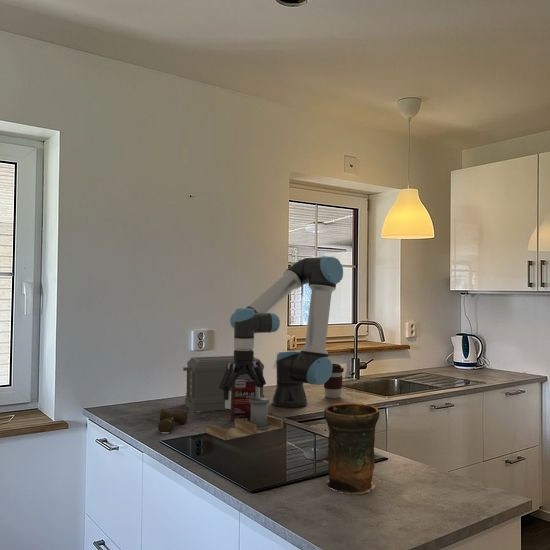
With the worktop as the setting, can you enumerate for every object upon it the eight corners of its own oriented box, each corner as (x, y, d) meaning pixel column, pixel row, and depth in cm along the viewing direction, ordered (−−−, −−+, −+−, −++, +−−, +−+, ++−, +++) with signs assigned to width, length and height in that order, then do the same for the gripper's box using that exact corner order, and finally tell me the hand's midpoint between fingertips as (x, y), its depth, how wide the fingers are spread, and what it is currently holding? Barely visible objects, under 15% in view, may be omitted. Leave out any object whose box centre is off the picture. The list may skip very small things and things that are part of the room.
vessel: (391, 484, 146) (390, 407, 146) (360, 500, 135) (359, 418, 135) (345, 471, 155) (344, 399, 155) (313, 486, 145) (312, 409, 145)
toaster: (179, 404, 243) (179, 357, 243) (253, 399, 254) (254, 354, 254) (187, 413, 225) (187, 362, 225) (266, 408, 236) (267, 359, 236)
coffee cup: (343, 395, 264) (343, 363, 265) (343, 399, 255) (344, 366, 255) (322, 394, 265) (322, 362, 266) (321, 398, 256) (322, 365, 256)
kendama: (150, 435, 194) (164, 420, 213) (178, 436, 193) (189, 421, 213) (151, 418, 193) (165, 404, 213) (178, 419, 193) (190, 405, 213)
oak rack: (263, 424, 207) (263, 413, 207) (282, 430, 199) (282, 419, 199) (206, 436, 191) (206, 424, 191) (225, 443, 183) (225, 430, 183)
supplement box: (233, 425, 206) (233, 381, 207) (230, 421, 211) (231, 379, 211) (255, 423, 209) (256, 380, 209) (252, 420, 213) (253, 378, 214)
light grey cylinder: (260, 424, 204) (260, 396, 204) (273, 428, 198) (273, 399, 199) (244, 427, 199) (244, 399, 199) (257, 431, 194) (257, 402, 194)
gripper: (263, 346, 221) (262, 400, 221) (210, 350, 205) (209, 408, 205) (275, 348, 216) (274, 404, 215) (222, 352, 199) (221, 412, 199)
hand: (242, 406), depth 210 cm, fingers open, 13 cm apart
